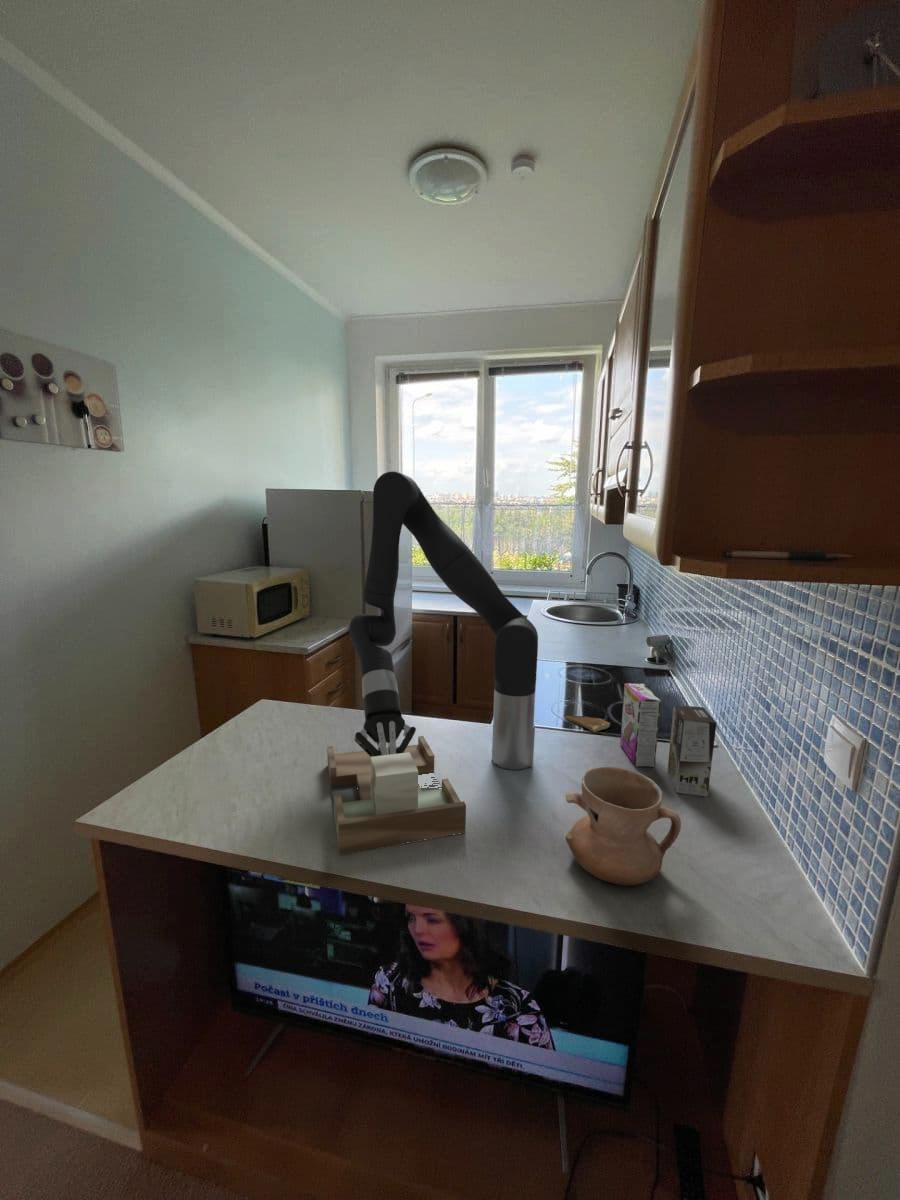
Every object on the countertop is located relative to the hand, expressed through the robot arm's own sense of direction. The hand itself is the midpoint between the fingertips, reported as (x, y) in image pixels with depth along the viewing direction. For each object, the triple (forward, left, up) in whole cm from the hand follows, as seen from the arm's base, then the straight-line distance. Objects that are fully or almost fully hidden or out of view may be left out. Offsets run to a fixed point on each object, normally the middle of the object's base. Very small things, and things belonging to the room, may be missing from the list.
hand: (390, 777), depth 98 cm
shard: (-47, -42, -6) cm, 63 cm away
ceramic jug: (-40, +14, -6) cm, 43 cm away
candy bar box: (-55, -25, -6) cm, 60 cm away
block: (-1, +4, -3) cm, 5 cm away
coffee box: (-62, -13, -6) cm, 63 cm away
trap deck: (+1, -3, -5) cm, 6 cm away
